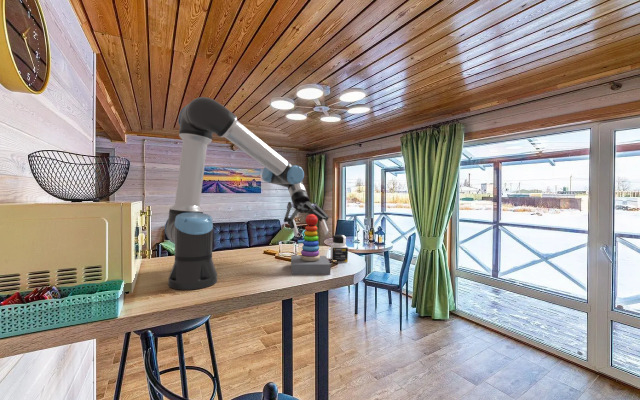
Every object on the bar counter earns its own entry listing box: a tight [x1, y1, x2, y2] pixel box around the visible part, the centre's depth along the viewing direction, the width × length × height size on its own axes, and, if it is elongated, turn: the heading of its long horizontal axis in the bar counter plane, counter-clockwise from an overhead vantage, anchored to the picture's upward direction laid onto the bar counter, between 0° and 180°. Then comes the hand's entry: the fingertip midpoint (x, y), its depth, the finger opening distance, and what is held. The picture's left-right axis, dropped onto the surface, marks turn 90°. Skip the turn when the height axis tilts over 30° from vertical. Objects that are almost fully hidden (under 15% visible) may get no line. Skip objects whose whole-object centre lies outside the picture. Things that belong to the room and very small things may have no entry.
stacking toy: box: [300, 214, 321, 261], centre depth 119 cm, size 8×8×19 cm
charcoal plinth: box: [290, 255, 332, 276], centre depth 119 cm, size 15×15×4 cm
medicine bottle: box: [330, 234, 349, 263], centre depth 136 cm, size 7×7×12 cm
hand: (312, 233), depth 119 cm, fingers open, 13 cm apart
